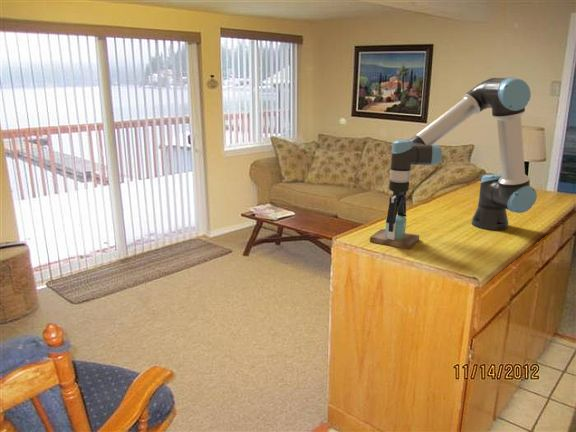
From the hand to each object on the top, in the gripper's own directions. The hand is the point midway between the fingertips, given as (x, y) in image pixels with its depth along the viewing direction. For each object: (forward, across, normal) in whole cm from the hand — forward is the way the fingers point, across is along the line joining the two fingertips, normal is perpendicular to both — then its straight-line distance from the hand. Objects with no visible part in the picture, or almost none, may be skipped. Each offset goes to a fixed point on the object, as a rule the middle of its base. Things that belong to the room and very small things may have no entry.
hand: (395, 235), depth 193 cm
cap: (0, 0, 0) cm, 0 cm away
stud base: (+2, 0, 0) cm, 2 cm away
